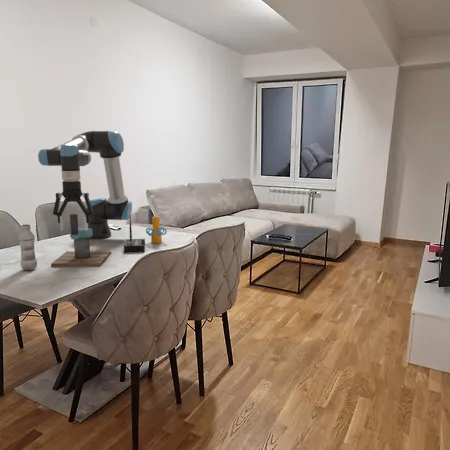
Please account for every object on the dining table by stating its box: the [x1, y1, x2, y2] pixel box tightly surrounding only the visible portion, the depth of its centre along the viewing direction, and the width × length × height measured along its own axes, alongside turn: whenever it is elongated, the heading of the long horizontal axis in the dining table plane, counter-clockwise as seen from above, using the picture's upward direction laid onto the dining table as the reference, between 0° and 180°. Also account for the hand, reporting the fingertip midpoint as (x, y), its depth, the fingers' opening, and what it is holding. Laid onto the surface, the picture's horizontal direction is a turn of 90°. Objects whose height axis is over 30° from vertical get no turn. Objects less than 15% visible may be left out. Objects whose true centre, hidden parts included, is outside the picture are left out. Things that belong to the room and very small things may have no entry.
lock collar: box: [69, 213, 92, 240], centre depth 182 cm, size 17×10×12 cm, turn 5°
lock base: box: [50, 237, 112, 268], centre depth 188 cm, size 22×22×12 cm
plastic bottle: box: [18, 224, 38, 271], centre depth 171 cm, size 6×7×20 cm
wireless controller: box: [123, 214, 146, 254], centre depth 212 cm, size 20×14×17 cm
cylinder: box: [145, 215, 168, 244], centre depth 225 cm, size 12×10×15 cm
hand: (74, 230), depth 176 cm, fingers open, 10 cm apart
